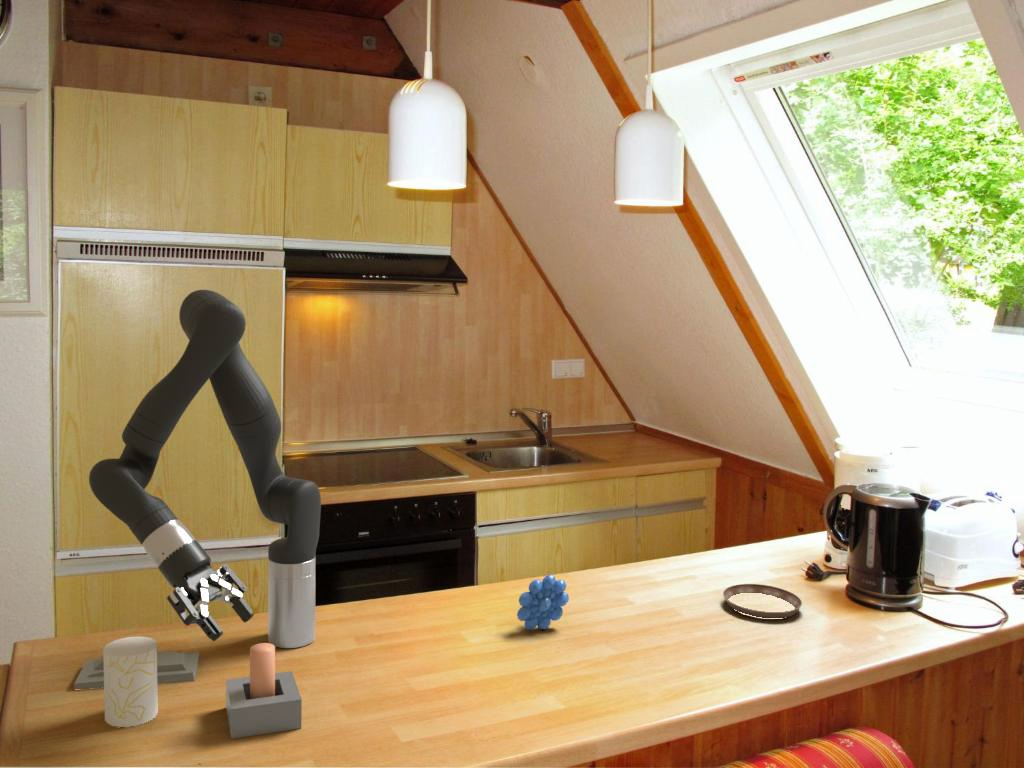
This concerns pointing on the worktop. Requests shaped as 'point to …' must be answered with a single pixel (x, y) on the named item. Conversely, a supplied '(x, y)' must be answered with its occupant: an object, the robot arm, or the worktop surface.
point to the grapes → (542, 602)
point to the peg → (262, 670)
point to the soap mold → (168, 670)
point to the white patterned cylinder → (130, 681)
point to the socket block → (263, 707)
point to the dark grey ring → (766, 590)
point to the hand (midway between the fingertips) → (234, 628)
